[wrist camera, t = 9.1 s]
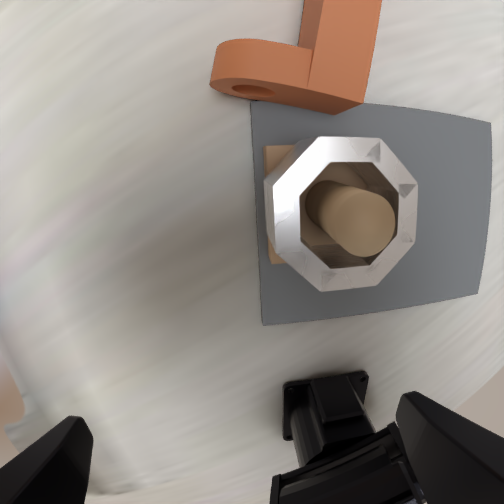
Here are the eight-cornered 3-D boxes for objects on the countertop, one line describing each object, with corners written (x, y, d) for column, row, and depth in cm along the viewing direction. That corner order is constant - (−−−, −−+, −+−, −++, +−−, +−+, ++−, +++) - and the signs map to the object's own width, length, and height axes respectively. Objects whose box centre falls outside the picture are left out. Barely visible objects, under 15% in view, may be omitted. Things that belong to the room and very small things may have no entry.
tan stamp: (367, 247, 18) (424, 291, 12) (268, 255, 18) (288, 308, 12) (368, 146, 17) (434, 146, 10) (263, 146, 16) (283, 141, 10)
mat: (473, 290, 21) (477, 293, 20) (261, 320, 20) (262, 325, 19) (485, 122, 17) (490, 123, 16) (250, 103, 16) (250, 101, 16)
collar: (380, 257, 17) (410, 281, 14) (267, 267, 17) (277, 296, 13) (382, 141, 15) (417, 140, 12) (261, 141, 15) (270, 137, 11)
